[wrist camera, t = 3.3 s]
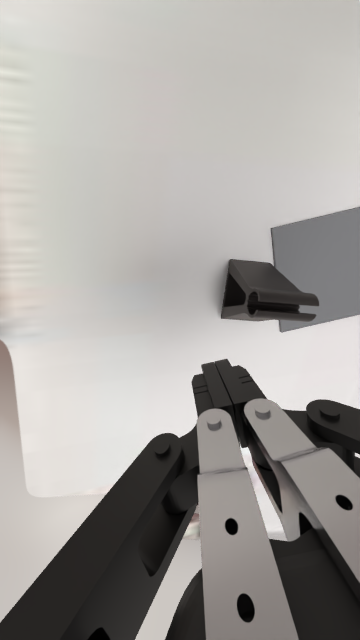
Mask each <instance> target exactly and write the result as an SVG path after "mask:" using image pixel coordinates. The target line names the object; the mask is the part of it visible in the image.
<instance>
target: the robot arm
mask: <svg viewBox="0 0 360 640" xmlns="http://www.w3.org/2000/svg"><path fill="white" fill-rule="evenodd" d="M201 367H202V371H203V374H199V375H194V377H193V380H192V387H193V393H194V398H195V404H196V409H197V415H198V419H197V423H196V426H195V427H194V428H193V429H192V430H191V431H190V432H189V433H187V434H186V435H184V436H182V437H180V438H178V437H177V436H176V435H174V434H172V433H164V434H160V435H158V436H156V437H155V438H153V439H152V440H151V441H150V442H149V443H148V445H147V446H146V447H145V448H144V449H143V451H142V452H141V453H140V454H139V456H138V457H137V458H136V459H135V460H134V462H133V463H132V464H131V465H130V466H129V468H128V469H127V470H126V471H125V472H124V474H123V475H122V476H121V477H120V479H119V480H118V481H117V482H116V483H115V485H114V486H113V487H112V488H111V489H110V491H109V492H108V493H107V494H106V495H105V497H104V498H103V499H102V500H101V502H100V503H99V504H98V505H97V506H96V508H95V509H94V510H93V511H92V513H91V514H90V515H89V516H88V517H87V518H86V520H85V521H84V522H83V523H82V524H81V526H80V527H79V528H78V529H77V531H76V532H75V533H74V534H73V536H72V537H71V538H70V539H69V540H68V541H67V543H66V544H65V545H64V546H63V547H62V549H61V550H60V551H59V552H58V554H57V555H56V556H55V557H54V558H53V560H52V561H51V562H50V563H49V564H48V566H47V567H46V568H45V569H44V570H43V572H42V573H41V574H40V575H39V577H38V578H37V579H36V580H35V581H34V583H33V584H32V585H31V586H30V587H29V589H28V590H27V591H26V592H25V593H24V595H23V596H22V597H21V598H20V600H19V601H18V602H17V603H16V604H15V606H14V607H13V608H12V609H11V610H10V612H9V613H8V614H7V615H6V616H5V618H4V619H3V620H2V621H1V623H0V640H135V638H136V636H137V634H138V631H139V629H140V627H141V625H142V623H143V621H144V619H145V617H146V614H147V612H148V610H149V608H150V606H151V604H152V602H153V599H154V597H155V595H156V593H157V591H158V589H159V587H160V585H161V582H162V580H163V578H164V576H165V574H166V572H167V570H168V567H169V565H170V563H171V561H172V559H173V557H174V555H175V552H176V550H177V548H178V546H179V544H180V541H181V540H182V538H183V535H184V533H185V531H186V529H187V527H188V525H189V523H190V521H191V518H192V516H193V514H194V512H195V509H196V506H197V503H198V502H199V519H200V537H201V556H202V569H201V570H199V572H198V573H197V574H196V575H195V576H194V578H193V579H192V580H191V582H190V584H189V585H188V587H187V588H186V590H185V592H184V594H183V596H182V598H181V600H180V602H179V604H178V607H177V609H176V612H175V614H174V617H173V620H172V622H171V625H170V628H169V630H168V633H167V636H166V639H165V640H360V458H358V457H356V456H355V453H358V454H360V409H356V408H353V407H350V406H347V405H344V404H341V403H338V402H334V401H330V400H315V401H312V402H310V403H309V404H308V405H307V407H306V411H292V410H284V409H281V408H280V406H279V405H278V404H276V403H275V402H273V401H271V400H268V399H267V398H266V397H265V395H264V394H263V393H262V391H261V390H260V388H259V387H258V386H257V384H256V383H255V381H254V380H253V379H252V377H251V376H250V374H249V373H248V372H247V370H246V369H244V368H243V367H241V366H239V365H238V366H233V367H232V366H231V364H230V363H229V361H228V359H224V360H219V361H215V362H211V363H207V364H202V365H201ZM239 442H240V443H239ZM240 444H241V447H242V448H245V447H248V448H249V450H250V453H251V456H252V462H253V466H254V468H255V470H256V472H257V474H258V476H259V478H260V480H261V482H262V484H263V486H264V488H265V490H266V492H267V494H268V496H269V498H270V500H271V502H272V505H273V507H274V509H275V511H276V513H277V515H278V517H279V519H280V521H281V524H282V526H283V529H284V532H285V535H286V538H287V541H280V540H273V539H269V538H268V535H267V531H266V528H265V525H264V521H263V518H262V515H261V511H260V508H259V505H258V501H257V498H256V494H255V491H254V488H253V484H252V481H251V478H250V475H249V472H248V469H247V467H246V466H245V463H244V460H243V456H242V453H241V450H240Z"/></svg>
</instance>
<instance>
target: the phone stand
mask: <svg viewBox="0 0 360 640" xmlns="http://www.w3.org/2000/svg"><path fill="white" fill-rule="evenodd" d="M225 289H226V290H225V294H224V301H223V307H222V314H221V318H222V319H235V320H248V321H265V320H273V319H275V320H288V321H301V322H310V321H312V320H313V319H314V318H315V317H316V316H317V315H316V314H310V313H300V311H299V308H300V306H299V305H305V306H319V300H318V298H317V296H316V295H315V294H312V293H304V292H302V291H300V290H299V289H298V288H297V287H296V286H295V285H294V284H292V283H291V282H290V281H289V280H288V279H287V278H286V277H285V276H284V275H283V274H281V273H280V272H279V271H278V270H277V269H276V268H275V267H274V266H273V265H272V264H271V263H263V262H253V261H243V260H233V259H230V262H229V268H228V275H227V281H226V288H225Z"/></svg>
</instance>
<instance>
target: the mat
mask: <svg viewBox="0 0 360 640" xmlns="http://www.w3.org/2000/svg"><path fill="white" fill-rule="evenodd" d="M271 233H272V245H273V256H274V267H275V268H276V269H277V270H278V271H279V272H280V273H281V274H283V275H284V276H285V277H286V278H287V279H288V280H289V281H290V282H291V283H292V284H294V285H295V286H296V287H297V288H298V289H299V290H300V291H302V292H304V293H312V294H315V295H316V296H317V298H318V300H319V306H305V305H299V306H300V308H299V311H300V313H310V314H316V315H317V316H316V317H315V318H314V319H313V320H312V321H310V322H301V321H288V320H279V324H280V332H286V331H290V330H294V329H299V328H303V327H308V326H312V325H316V324H321V323H325V322H329V321H334V320H338V319H342V318H347V317H351V316H355V315H360V207H358V208H354V209H350V210H346V211H342V212H338V213H333V214H329V215H325V216H321V217H317V218H313V219H308V220H304V221H300V222H296V223H292V224H288V225H283V226H279V227H275V228H271Z"/></svg>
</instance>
